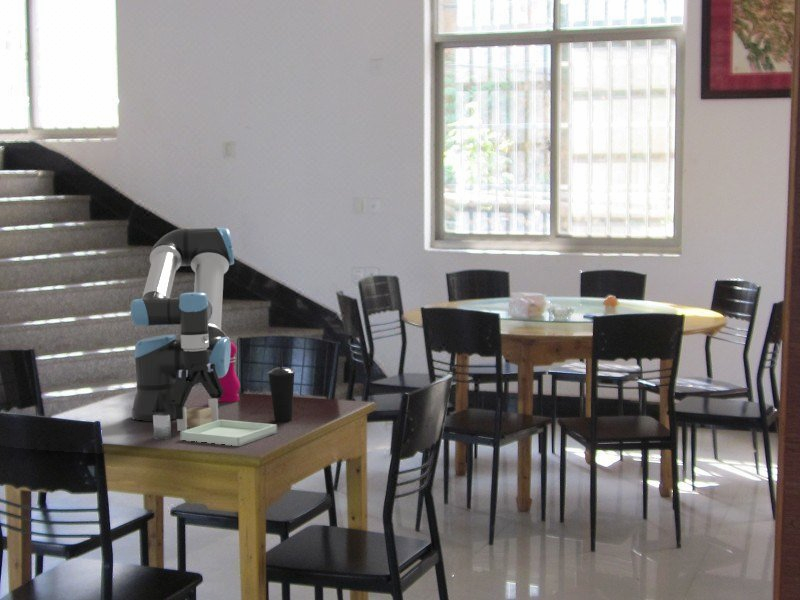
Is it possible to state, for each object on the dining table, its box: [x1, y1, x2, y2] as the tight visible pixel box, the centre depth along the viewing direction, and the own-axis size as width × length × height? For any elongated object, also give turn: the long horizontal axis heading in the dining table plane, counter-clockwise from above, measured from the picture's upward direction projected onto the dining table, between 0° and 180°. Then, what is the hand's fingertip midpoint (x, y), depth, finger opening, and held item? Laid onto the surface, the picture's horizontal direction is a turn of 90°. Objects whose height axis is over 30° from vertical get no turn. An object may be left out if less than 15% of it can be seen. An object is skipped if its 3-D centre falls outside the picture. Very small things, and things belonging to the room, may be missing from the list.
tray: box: [179, 419, 278, 447], centre depth 284 cm, size 19×17×2 cm
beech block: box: [186, 406, 212, 429], centre depth 298 cm, size 5×5×5 cm
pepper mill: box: [217, 336, 241, 403], centre depth 336 cm, size 7×7×20 cm
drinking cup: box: [267, 348, 296, 423], centre depth 304 cm, size 8×8×20 cm
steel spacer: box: [152, 413, 172, 440], centre depth 285 cm, size 4×4×6 cm
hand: (198, 426), depth 298 cm, fingers open, 13 cm apart
